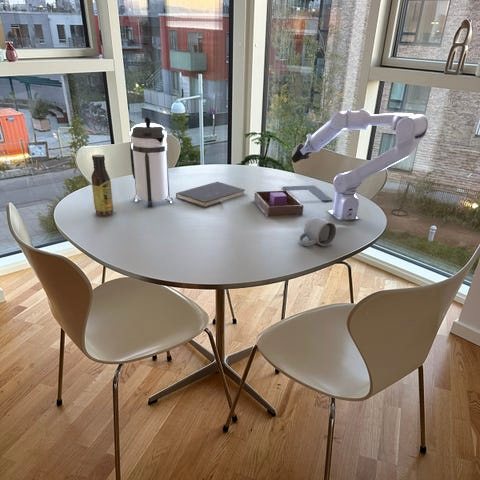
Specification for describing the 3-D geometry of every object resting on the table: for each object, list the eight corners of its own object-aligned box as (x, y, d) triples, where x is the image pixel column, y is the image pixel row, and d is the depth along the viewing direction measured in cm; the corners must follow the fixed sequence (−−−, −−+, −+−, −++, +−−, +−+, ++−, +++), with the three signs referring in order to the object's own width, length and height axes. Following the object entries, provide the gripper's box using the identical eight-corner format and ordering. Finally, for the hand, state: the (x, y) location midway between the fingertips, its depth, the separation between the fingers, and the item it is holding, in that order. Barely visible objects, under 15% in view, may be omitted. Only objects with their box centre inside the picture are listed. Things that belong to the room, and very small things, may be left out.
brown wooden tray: (302, 216, 168) (303, 205, 166) (267, 218, 165) (268, 207, 163) (286, 200, 183) (287, 190, 181) (254, 202, 180) (254, 191, 178)
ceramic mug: (318, 235, 153) (321, 212, 149) (335, 243, 147) (338, 220, 143) (293, 241, 148) (295, 218, 144) (309, 250, 142) (312, 227, 138)
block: (285, 209, 172) (287, 196, 169) (273, 210, 171) (274, 196, 168) (281, 205, 176) (282, 192, 174) (269, 205, 175) (270, 192, 172)
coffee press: (177, 196, 183) (174, 114, 167) (168, 209, 169) (163, 121, 153) (134, 193, 184) (127, 111, 168) (121, 206, 170) (112, 118, 154)
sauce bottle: (109, 217, 160) (102, 158, 149) (92, 215, 161) (84, 157, 150) (117, 211, 165) (110, 154, 155) (100, 209, 166) (93, 152, 156)
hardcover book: (244, 195, 187) (245, 189, 186) (204, 208, 172) (204, 202, 171) (216, 186, 195) (216, 181, 194) (175, 198, 180) (175, 192, 179)
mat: (332, 201, 184) (332, 199, 184) (299, 202, 181) (299, 201, 181) (313, 186, 201) (313, 185, 200) (282, 187, 198) (283, 186, 197)
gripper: (326, 120, 168) (301, 142, 179) (306, 132, 159) (282, 154, 170) (337, 137, 169) (311, 157, 180) (318, 150, 160) (293, 170, 171)
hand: (298, 157), depth 175 cm, fingers open, 7 cm apart
